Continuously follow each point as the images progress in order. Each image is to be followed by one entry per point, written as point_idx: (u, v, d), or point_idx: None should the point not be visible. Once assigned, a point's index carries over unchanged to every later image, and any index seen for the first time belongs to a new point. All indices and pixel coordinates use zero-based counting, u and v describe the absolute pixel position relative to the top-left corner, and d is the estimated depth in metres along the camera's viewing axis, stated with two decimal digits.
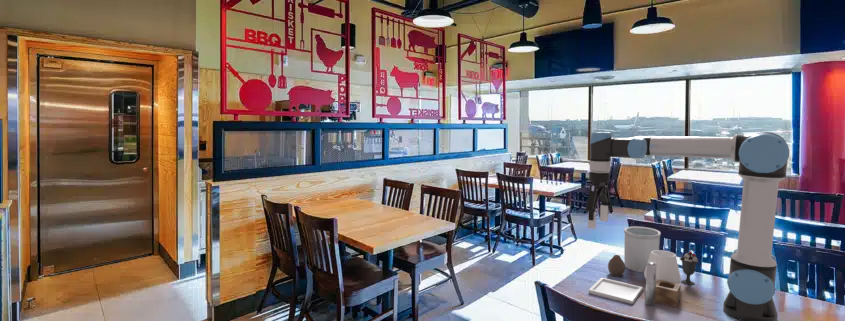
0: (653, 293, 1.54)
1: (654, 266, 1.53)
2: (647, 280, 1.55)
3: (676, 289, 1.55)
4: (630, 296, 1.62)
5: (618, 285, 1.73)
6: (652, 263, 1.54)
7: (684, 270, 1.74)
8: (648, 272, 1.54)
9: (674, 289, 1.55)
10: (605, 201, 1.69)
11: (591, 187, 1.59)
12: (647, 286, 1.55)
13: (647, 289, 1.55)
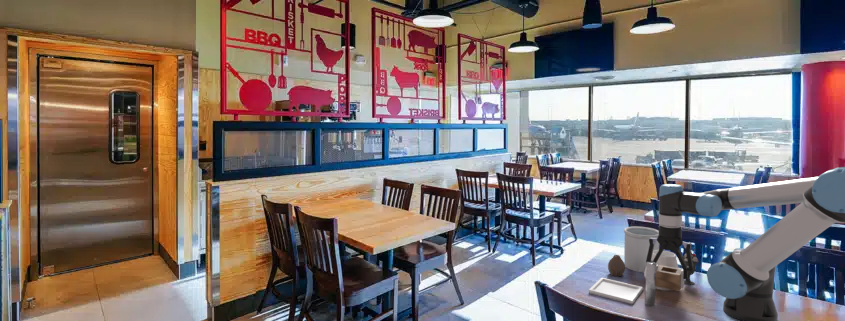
0: (653, 293, 1.54)
1: (654, 266, 1.53)
2: (647, 280, 1.55)
3: (679, 273, 1.54)
4: (630, 296, 1.62)
5: (618, 285, 1.73)
6: (652, 263, 1.54)
7: None
8: (648, 272, 1.54)
9: (676, 273, 1.54)
10: None
11: None
12: (647, 286, 1.55)
13: (647, 289, 1.55)
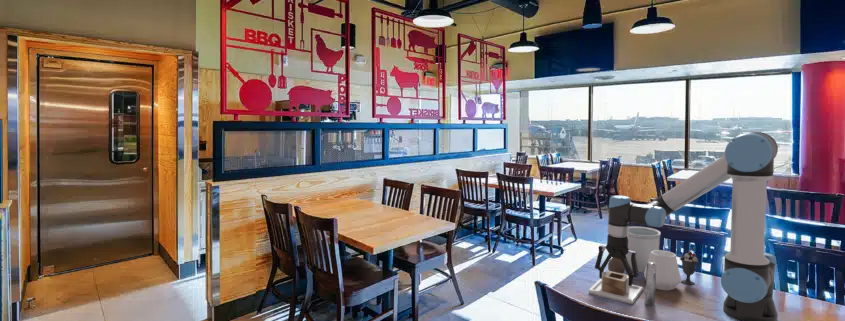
0: (653, 293, 1.54)
1: (654, 266, 1.53)
2: (647, 280, 1.55)
3: (624, 279, 1.63)
4: (630, 296, 1.62)
5: None
6: (652, 263, 1.54)
7: (684, 270, 1.74)
8: (648, 272, 1.54)
9: (622, 279, 1.63)
10: None
11: None
12: (647, 286, 1.55)
13: (647, 289, 1.55)
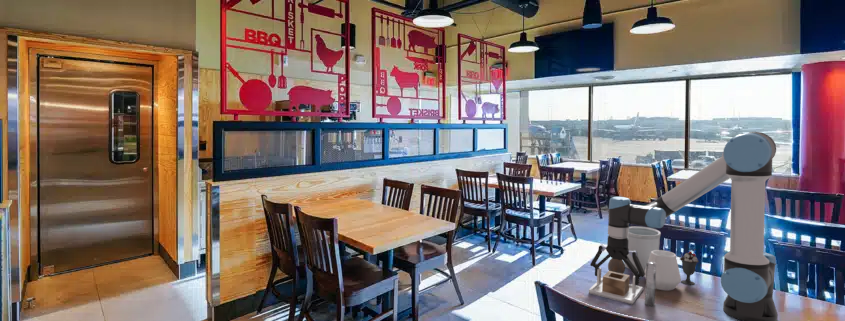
0: (653, 293, 1.54)
1: (654, 266, 1.53)
2: (647, 280, 1.55)
3: (624, 279, 1.63)
4: (630, 296, 1.62)
5: None
6: (652, 263, 1.54)
7: (684, 270, 1.74)
8: (648, 272, 1.54)
9: (622, 279, 1.63)
10: None
11: None
12: (647, 286, 1.55)
13: (647, 289, 1.55)
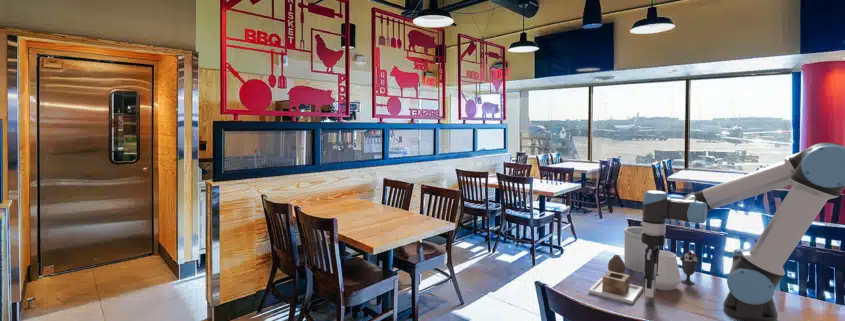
0: None
1: (654, 266, 1.53)
2: None
3: (624, 279, 1.63)
4: (630, 296, 1.62)
5: None
6: None
7: (684, 270, 1.74)
8: None
9: (622, 279, 1.63)
10: None
11: (646, 257, 1.49)
12: None
13: None
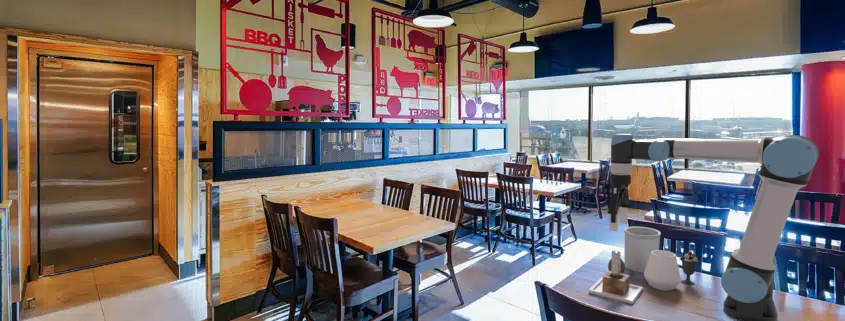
0: None
1: (618, 254, 1.64)
2: (612, 267, 1.66)
3: (624, 279, 1.63)
4: (630, 296, 1.62)
5: None
6: (616, 251, 1.65)
7: (684, 270, 1.74)
8: (613, 260, 1.65)
9: (622, 279, 1.63)
10: (625, 203, 1.68)
11: (613, 189, 1.58)
12: (612, 273, 1.66)
13: (613, 276, 1.66)
